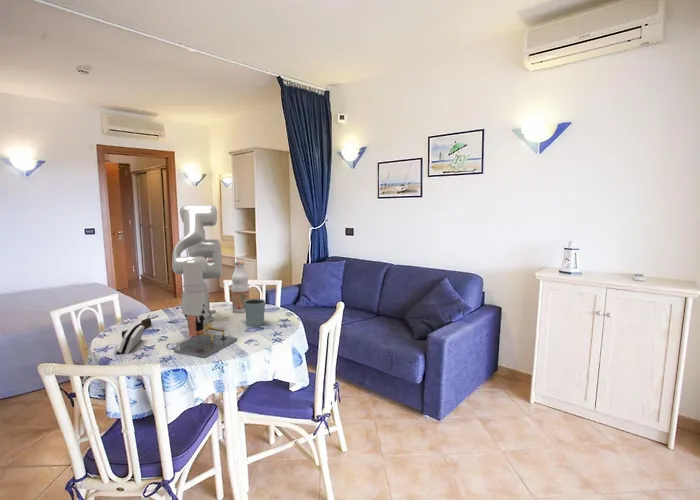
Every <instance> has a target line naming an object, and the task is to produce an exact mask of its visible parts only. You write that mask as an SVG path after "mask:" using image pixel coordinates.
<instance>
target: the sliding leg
mask: <svg viewBox="0 0 700 500" xmlns="http://www.w3.org/2000/svg"><path fill="white" fill-rule="evenodd" d="M200 318H201V316H200ZM197 322H198V321H197V316H192V315H188V323H187V325H188V324H189V330H188V335H189V337H191V336H196V337H197V336H199V335H203V336H209V337H211V344H213V337H214V334H207V333H203V330H201V331H197Z"/></svg>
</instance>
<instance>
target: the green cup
mask: <svg viewBox="0 0 700 500" xmlns="http://www.w3.org/2000/svg"><path fill="white" fill-rule="evenodd" d="M244 304H245V312H244V313H245V320H246V321H245V326H246V327H248V326H249V328H258V326H259V327H261V325H262V326H264V322H265V311H266V310H265V307H266V300H264V299H261V298H251V299H250V298H249V300H246V301H245V302H244Z"/></svg>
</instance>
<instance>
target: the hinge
mask: <svg viewBox="0 0 700 500" xmlns="http://www.w3.org/2000/svg"><path fill="white" fill-rule="evenodd" d="M138 324H139V323H138ZM138 324H136V323H135V324H132V325H131V326H130V327H129V328H128V329H129V330H128V329H127V330H128V331H127V332H126V334H125V335H124V337H122V340H121V342H120V345H119V346H118V348H117V349H116V350H115V352H114V355H117V354H118V353H121V354H122V353H124V354H126V355H127V354H129V353H130V352H131V351H132V350H133V349H134V348H135V346H137V344H138V343H139V342H140V341H141V340H142V336H143V334H144V330H145V329H144V326H142V325H140V326H139V325H138Z"/></svg>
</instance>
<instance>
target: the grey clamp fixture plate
mask: <svg viewBox="0 0 700 500" xmlns="http://www.w3.org/2000/svg"><path fill="white" fill-rule="evenodd" d="M203 327H204V329H203V333H207V334H214V337H213V344H211V337H209V336H203V335H199V336H197V337H196V336H188V337H186V338H183V339H182V340H180V341H177V342H176V343H175V345H176V346H175V348H174V349H173V353H176V354H183V355H186V356H187V355H188V356H192V357H198V358H202V359H203V358H204V359H206V358H207V357H208V356H209V357H210V356H211V355H213V354H214V353H217V352H218V351H220V350H223V349H224V348H226V347H227V346H230V345H231V344H233V343H235V342H237V341H238V337H233V336H225V332H226V329H225V328H218V327H214V324H213V322H207V323H204V324H203ZM215 331H216V332H222V335H220V334H216V332H215Z"/></svg>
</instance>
